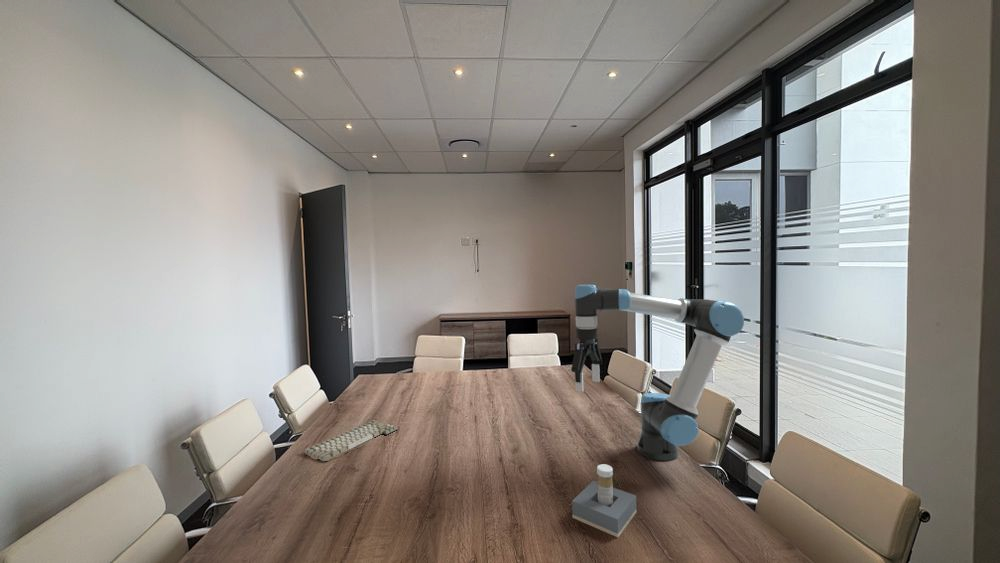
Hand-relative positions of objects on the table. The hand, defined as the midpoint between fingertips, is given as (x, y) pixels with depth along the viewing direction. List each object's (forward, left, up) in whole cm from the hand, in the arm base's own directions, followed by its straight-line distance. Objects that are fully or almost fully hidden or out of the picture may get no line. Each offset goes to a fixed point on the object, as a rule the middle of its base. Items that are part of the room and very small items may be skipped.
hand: (588, 386), depth 137 cm
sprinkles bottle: (+20, +15, -31) cm, 39 cm away
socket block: (+20, +14, -32) cm, 40 cm away
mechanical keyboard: (+38, -95, -32) cm, 108 cm away
